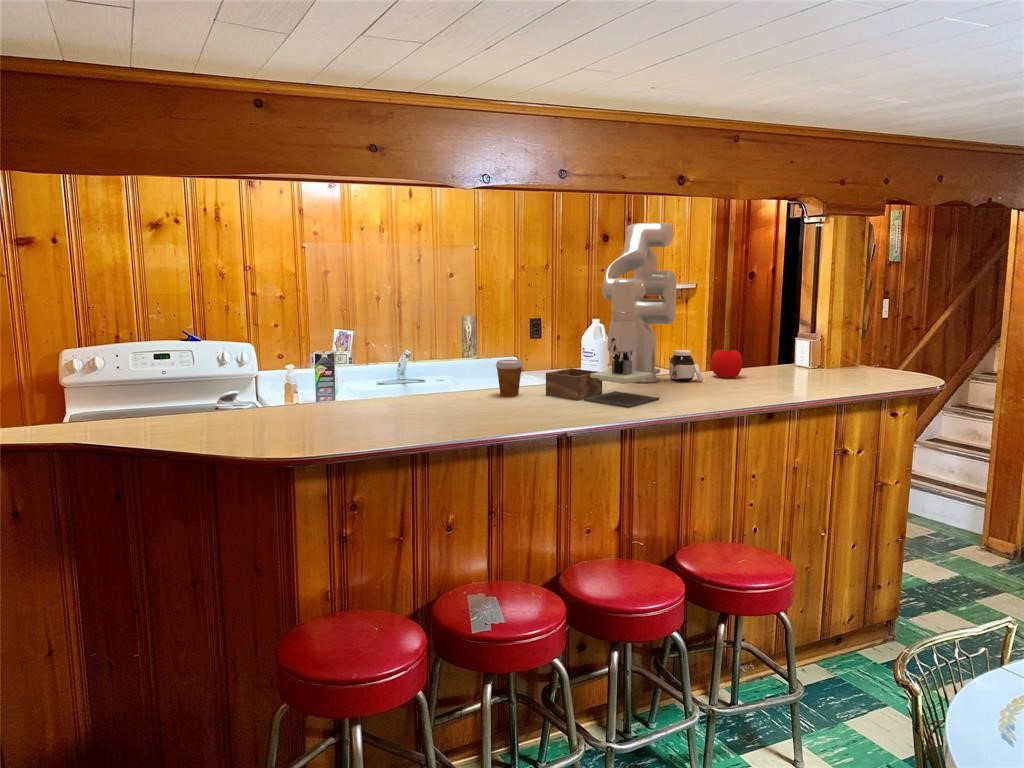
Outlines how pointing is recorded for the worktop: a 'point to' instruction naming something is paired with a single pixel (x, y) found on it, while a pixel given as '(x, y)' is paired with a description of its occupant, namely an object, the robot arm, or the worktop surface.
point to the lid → (622, 374)
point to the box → (572, 384)
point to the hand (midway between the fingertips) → (621, 371)
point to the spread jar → (683, 367)
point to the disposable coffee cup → (509, 377)
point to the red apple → (726, 363)
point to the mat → (621, 399)
